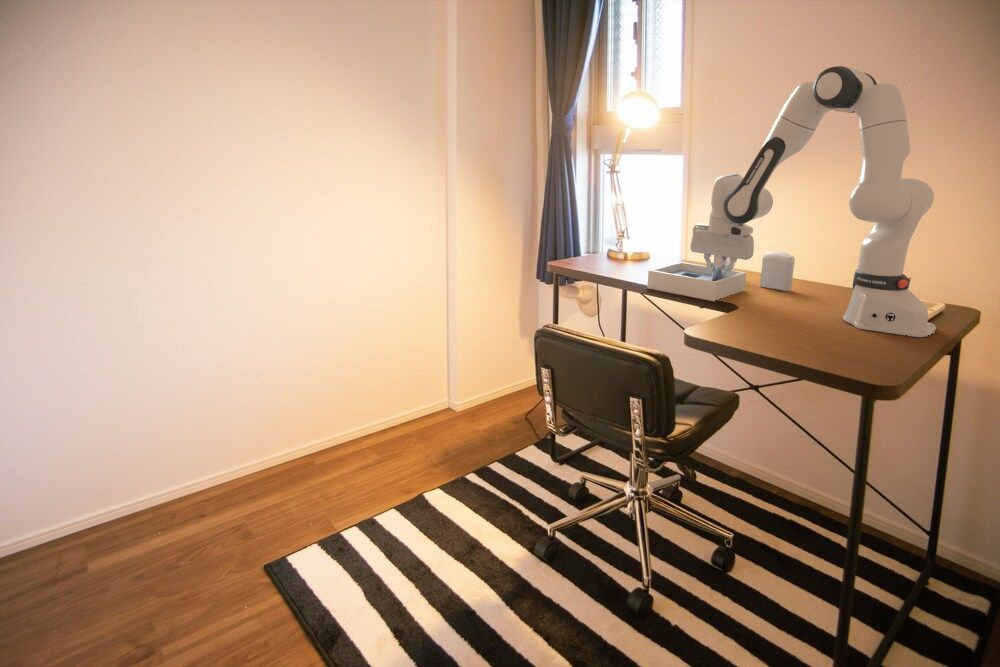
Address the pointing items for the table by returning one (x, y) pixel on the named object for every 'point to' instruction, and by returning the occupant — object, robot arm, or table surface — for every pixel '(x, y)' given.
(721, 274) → the peg
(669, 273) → the box
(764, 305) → the table surface
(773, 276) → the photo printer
